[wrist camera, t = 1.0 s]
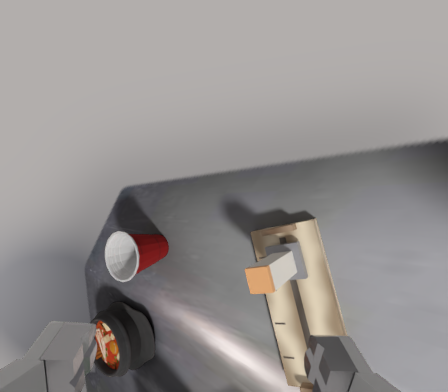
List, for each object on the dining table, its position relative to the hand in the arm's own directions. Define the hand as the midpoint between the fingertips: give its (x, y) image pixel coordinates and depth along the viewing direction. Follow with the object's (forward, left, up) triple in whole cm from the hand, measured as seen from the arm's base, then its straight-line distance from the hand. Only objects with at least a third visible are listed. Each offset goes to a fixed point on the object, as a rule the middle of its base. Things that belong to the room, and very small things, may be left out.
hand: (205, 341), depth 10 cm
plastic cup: (+45, -2, -40) cm, 60 cm away
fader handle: (+12, +5, -37) cm, 39 cm away
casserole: (+65, +20, -40) cm, 79 cm away
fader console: (+12, +13, -39) cm, 43 cm away
